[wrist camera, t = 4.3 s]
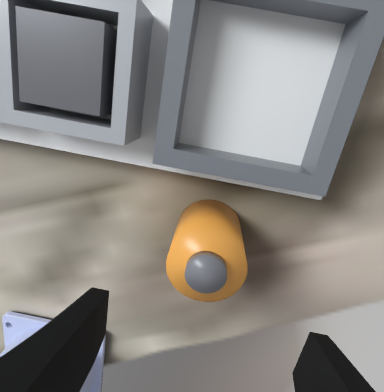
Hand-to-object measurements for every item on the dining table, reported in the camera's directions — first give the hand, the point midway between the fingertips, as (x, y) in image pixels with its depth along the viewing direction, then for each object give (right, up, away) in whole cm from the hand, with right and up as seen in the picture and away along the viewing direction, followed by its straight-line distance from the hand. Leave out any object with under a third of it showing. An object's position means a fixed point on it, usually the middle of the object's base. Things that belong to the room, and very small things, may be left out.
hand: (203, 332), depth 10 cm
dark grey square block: (-5, +11, +3) cm, 12 cm away
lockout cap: (+1, +3, +8) cm, 8 cm away
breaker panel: (-4, +12, +5) cm, 14 cm away
